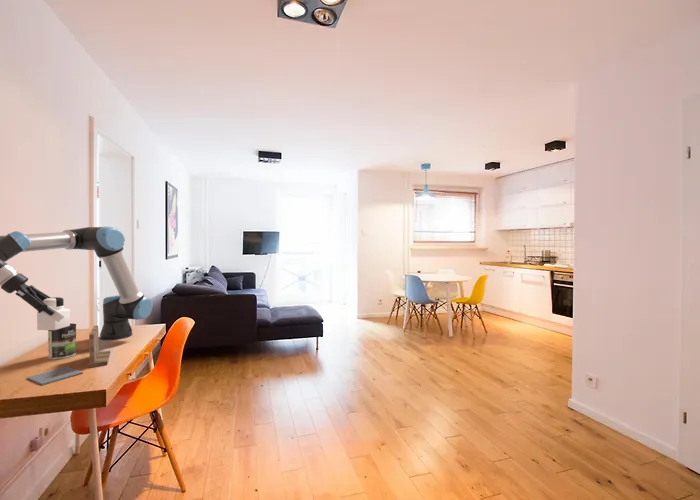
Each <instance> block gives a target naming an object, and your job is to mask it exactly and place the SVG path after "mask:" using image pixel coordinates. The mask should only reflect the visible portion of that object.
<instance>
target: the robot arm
mask: <svg viewBox="0 0 700 500" xmlns="http://www.w3.org/2000/svg"><path fill="white" fill-rule="evenodd" d="M125 242H126V240H125V236H124V233H123V232H122V231H121V230H120V229H119V228H116V227H113V226H89V227H88V226H87V227H81V228H75V229H74V228H73V229H64V230H63V231H60V232H46V233H45V232H43V233H29V234H28V233H26V234H24V233H23V232H21V231H17V230H16V231H15V230H14V231H12V232H9V233H7V234H6V235H0V289H1V290H3V291H5V293H7V294H12V293H14V292H15V296H18V297H19V298H21V299H22V300H23V301H25V303H27V304H28V305H30V306H31V307H32V308H33V309H35V310H36V311H37V312H39V313H41V312H44V313H45V314H47V315H48V316H50V317H51V318H53V319H54V320H55V321H57V322H59V321H60V320H61V319H63V318H64V317H65V316H63V315H62V314H60V313H59V312H58V311H56V310H55V309H53V308H52V307H50V306H47V305H46V304H45V303H44V302H43V301H44V300H45V299H47V298H52V297H51V296H49V295H48V294H46V293H45V292H43V291H41V290H39V289H38V288H36V286H34V285H32V284H31V285H28V284H26V283H27V282H28V281H29V278H28V277H27V276H25V275H24V274H22V273H21V272H20V273H19V271H18V270H17V269H16V268H15V267H12V266H11V265H10V264H8V263H7V261H9V260H11V259H12V258H13V257H15V256H17V255H18V254H20V253H24V252H26V253H27V252H36V251H38V252H39V251H46V250H56V249H59V250H60V249H65V250H70V251H71V250H84V251H86V250H87V251H94V252H95V254H96V257H97V258H100V259H102V260H103V263H104V264H105V267H106V269H107V271H108V273H109V275H110V277H111V280H112V282H113V284H114V286H115V288H116V290H117V292H118V294H117V295H110V296H106V297H104V298H103V300H102V302H103V303H102V311H103V312H102V316H103V325H102V327H101V330H100V333H99V339H100V340H103V341H113V340H119V339H124V338H128V337H130V336H133V329H132V326H131V325H130V322H129V320H137V321H138V320H145V319H146V318H148V317H149V316H150V314H151V313H152V310H153V304H154V303H153V301H152V300H151V299H150V298H147V297H145V295H144V293H143V291H141V290H138V287H137V285H136V283H135V281H134V278H133V276H132V274H131V271H130V268H129V267H128V264H127V262H126V259H125V258H124V256H123V253H122V252H123V250H124V246H125ZM63 309H66V308H64V307H63Z"/></svg>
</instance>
